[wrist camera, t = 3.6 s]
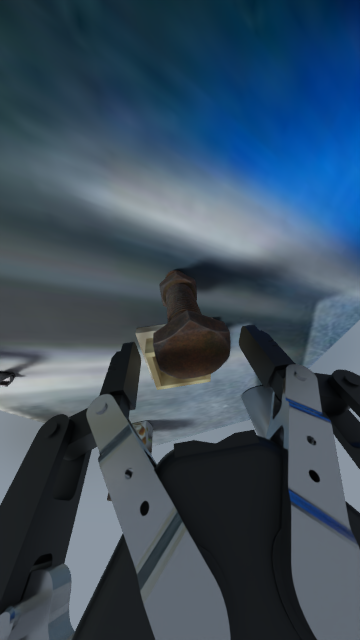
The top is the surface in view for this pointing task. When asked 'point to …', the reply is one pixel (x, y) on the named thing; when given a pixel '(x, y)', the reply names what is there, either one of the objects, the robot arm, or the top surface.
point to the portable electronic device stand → (6, 378)
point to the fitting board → (159, 377)
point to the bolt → (188, 332)
